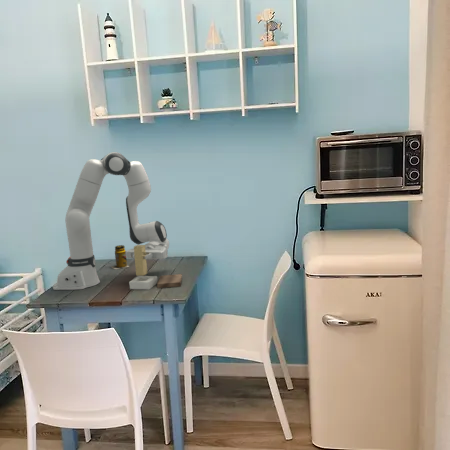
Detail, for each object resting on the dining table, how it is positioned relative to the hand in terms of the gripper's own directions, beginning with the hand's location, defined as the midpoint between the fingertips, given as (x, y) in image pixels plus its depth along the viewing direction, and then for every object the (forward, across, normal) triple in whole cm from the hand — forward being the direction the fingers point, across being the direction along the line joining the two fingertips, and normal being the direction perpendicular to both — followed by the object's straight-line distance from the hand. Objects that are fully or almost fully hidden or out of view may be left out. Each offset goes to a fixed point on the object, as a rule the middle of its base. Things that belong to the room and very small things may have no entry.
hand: (139, 257), depth 223 cm
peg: (-1, 0, +8) cm, 9 cm away
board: (-7, +12, +14) cm, 20 cm away
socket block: (-1, 0, +14) cm, 14 cm away
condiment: (-35, -30, +15) cm, 48 cm away
